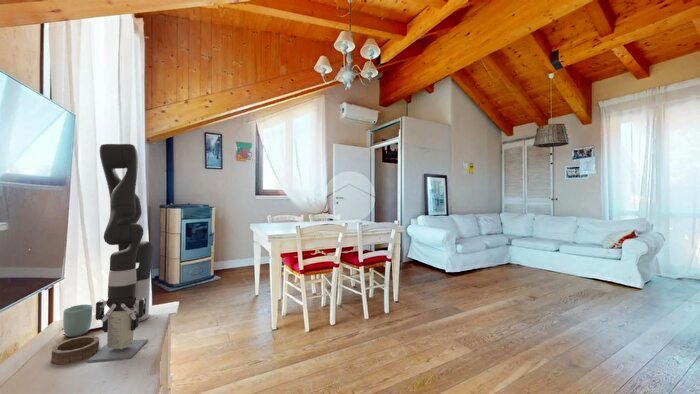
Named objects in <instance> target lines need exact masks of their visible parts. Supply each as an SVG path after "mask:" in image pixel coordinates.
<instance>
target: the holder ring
mask: <svg viewBox="0 0 700 394" xmlns="http://www.w3.org/2000/svg"><path fill="white" fill-rule="evenodd" d="M99 350H100V337H99V336H96V335H83V336H82V335H80V336H76V337H71V338H69V339H67V340H64V341H61V342H59V343H57V344H55V345H54V346H53V347H52V348H51V359H50V361H51V363H53V364H56V365H65V364H72V363H76V362H78V361H79V362H80V361H84V360H85V359H89V358H91V357H92V356H93V355H95V354H96V353H97V352H98V351H99Z"/></svg>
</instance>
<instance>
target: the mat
mask: <svg viewBox="0 0 700 394" xmlns="http://www.w3.org/2000/svg"><path fill="white" fill-rule="evenodd" d="M148 341H149V339H148V338H147V339H146V338H145V339H133V344H131V345H129V346H127V347H125V348H123V349H115V348H108V347H107V344H105V345H104V346H103V347H102V348H101V349H99V351H98V352H96V353H95V354H94V355H92V356H90V357H89V358H88V360H87V363H95V362H108V361H119V360H121V361H122V360H128V359H129V360H130V359H133V357H134V356H135V355H136V354H137V353H139V351H140V350H141V349H142V347H144V345H146V343H147V342H148Z"/></svg>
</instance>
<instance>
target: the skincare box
mask: <svg viewBox="0 0 700 394" xmlns="http://www.w3.org/2000/svg"><path fill="white" fill-rule="evenodd" d="M130 310H131V311H132V310H134V308H131V309H130ZM131 321H132V318H131V316H130V315H128V314H127V311H113V312H112V313H111V314H110V316H109V317H108V330H107V332H106V333H107V334H106V337H107V339H106V340H107V341H106V345H107V347H108V348H115V349H123V348H125V347H127V346H129V345H131V344H133V340H134V331H131Z"/></svg>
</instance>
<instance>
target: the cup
mask: <svg viewBox="0 0 700 394" xmlns="http://www.w3.org/2000/svg"><path fill="white" fill-rule="evenodd" d="M92 320H93V305H92V304H87V303H85V304H77V305H73V306H69V307H67V308H65V309H64V310H63V313H62V330H63V333H64V335H65V336H66V337H70V338H77V337H81V336H82V335H83V336H84V335H85V334H86V333H88V332H89V331H90V328H91V326H92Z"/></svg>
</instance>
